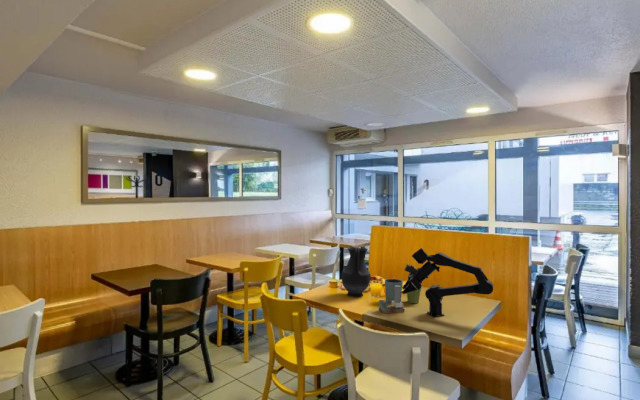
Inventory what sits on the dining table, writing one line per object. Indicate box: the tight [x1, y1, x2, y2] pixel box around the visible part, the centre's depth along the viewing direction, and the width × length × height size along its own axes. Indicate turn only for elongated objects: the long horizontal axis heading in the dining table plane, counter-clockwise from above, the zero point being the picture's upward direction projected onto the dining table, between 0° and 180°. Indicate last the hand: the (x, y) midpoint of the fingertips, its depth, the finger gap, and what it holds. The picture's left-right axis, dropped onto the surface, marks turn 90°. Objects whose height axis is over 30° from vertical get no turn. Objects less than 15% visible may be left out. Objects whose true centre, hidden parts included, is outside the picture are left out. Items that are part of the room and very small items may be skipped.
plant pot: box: [406, 287, 423, 304], centre depth 209 cm, size 9×9×9 cm
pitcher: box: [341, 246, 371, 298], centre depth 219 cm, size 17×21×30 cm
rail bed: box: [378, 299, 405, 314], centre depth 190 cm, size 12×5×6 cm, turn 105°
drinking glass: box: [384, 278, 404, 304], centre depth 209 cm, size 10×10×12 cm
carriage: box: [391, 285, 404, 308], centre depth 191 cm, size 4×5×10 cm
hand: (402, 290), depth 191 cm, fingers open, 9 cm apart
